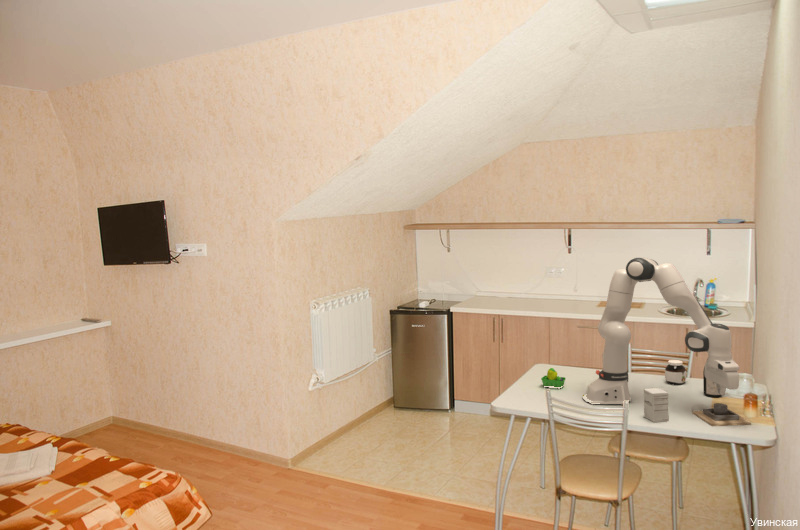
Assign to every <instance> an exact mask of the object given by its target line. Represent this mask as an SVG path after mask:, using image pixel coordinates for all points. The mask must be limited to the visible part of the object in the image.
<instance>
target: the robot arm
mask: <svg viewBox="0 0 800 530" xmlns="http://www.w3.org/2000/svg"><path fill="white" fill-rule="evenodd" d="M651 281H653V282H654V283H655V284H656V286H657V289H658V290H659V292H660V295H661V297H662V298H663V299H664V301H665V302H666V303H667V304H668V305H670V306H672V307H676V308H678V309H679V308H680V309H682V310H683V311H685V312H686V313H688V315H689V316H690V318H691V320H692V322H693V323H694V324H695V327H697V329H694V330H691V331H688V332H687V333H686V334H685V335H684V336H685V337H684V343H685V346H686V347H687V349H688V350H690V351H691V352H695V353H705V352H706V353H707V359H706V361H705V363H704V366H705V369H704V368H703V371H704V375H705V378H707V379H709V380H711V381H713V382H715V386H716V388H717V393H718V394H720V395H722V396H725V395H726V393H725V392H726V389H727V390H730V391H731V390H738V388H739V386H740V374H739V371H740V366H739V364H738V363H736V361H735V359H733V354H732V346H733V343H732V342H733V341H732V332H731V329H730V328H729V327H728V326H727V325H725V324H722V323H715V322H714V323H713V322H712V321H711V318H709V315H708V314H707V312H706V311H705V309H704V308H703V306H702V304H701V303H700V301H699V300H698V299H697V298H696V297H695V295H694V294H693V293H692V292H691V290H690V288H689V287H688V285H687V284H686V282H685V279H684V278H683V276H682V275H681V273H680V272H679V270H678V269H677V268H676V267H675V266H674V264H672V263H670V262H665V263H664V262H663V263H661V264H659V263H658V262H657V261H656V260H654V259H652V258H649V257H634V258H633V259H630V260H629V261H628V262H627V264H626V266H625V268H619V269H616V270H615V271H614V273H613V276H612V277H611V281H610V284H609V287H608V293H607V299H606V304H605V308H604V310H603V313H602V316H601V319H600V320H599V323H598V325H597V331H598V333H599V335H600V336H601V338H603V339H604V349H603V352H602V354H601V355H602V370H598V369H596V370H595V374H596V375H598V377H597V379H595V380H594V381H593V382H591V383H589V384H588V386H587V389H586V394H587V395H586V397H587V399H589V400H591V401H593V402H591V403H600V404H623V401H624V400H629V401H630V402H632V398H631V394H630V390H629V384H628V383H629V371H628V349H629V345H630V344H629V343H630V341H631V340H632V332H631V329H630V328H629V327H628V325H627V324H625V322H626V318H627V316H628V314H629V312H630V311H631V308H632V303H633V299H634V291H635V287H636V285H637V283H642V282H651Z"/></svg>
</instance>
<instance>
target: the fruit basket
mask: <svg viewBox="0 0 800 530" xmlns="http://www.w3.org/2000/svg"><path fill="white" fill-rule="evenodd" d="M540 379H541V382H542V386H543V385H544V386H554V387H561V386H563V385H565V382H566V377H564V376H559V375H558V372H557V370H555V369H554V368H553V367H550V368H549V369H547V373H546V375H544V376H542V377H541V378H540ZM544 386H543V387H544ZM563 387H564V386H563Z"/></svg>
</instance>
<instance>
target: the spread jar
mask: <svg viewBox="0 0 800 530" xmlns="http://www.w3.org/2000/svg"><path fill="white" fill-rule="evenodd" d="M664 379H665V382H666V383H668V384H669V383H670V385H672V384H674V385H673V386H681V385H684V384H685V382H686V381H687V370H686V367H685V366H684V365H683V361H682V360H678V359H670V360H668V361H667V365H666V367H665V369H664Z"/></svg>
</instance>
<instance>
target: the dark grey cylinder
mask: <svg viewBox="0 0 800 530" xmlns="http://www.w3.org/2000/svg"><path fill="white" fill-rule="evenodd" d="M712 405H713V407H712V408H714V415H716V416H719V415H728V409H729V408H728V405H727V404H725V403H722V402H721V403H719V402H716V403H713V404H712Z"/></svg>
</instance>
